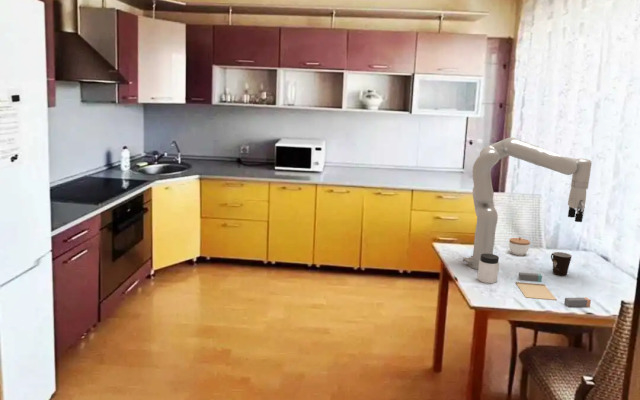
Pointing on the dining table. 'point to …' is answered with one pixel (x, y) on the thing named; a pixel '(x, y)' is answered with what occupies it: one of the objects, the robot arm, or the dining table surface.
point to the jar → (488, 268)
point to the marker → (530, 277)
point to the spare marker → (577, 302)
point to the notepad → (535, 291)
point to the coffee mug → (560, 263)
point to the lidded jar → (519, 246)
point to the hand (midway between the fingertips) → (574, 219)
